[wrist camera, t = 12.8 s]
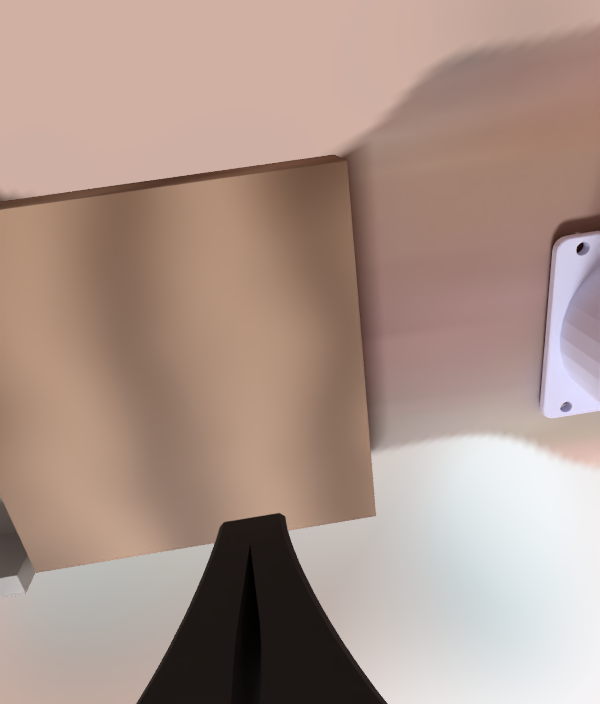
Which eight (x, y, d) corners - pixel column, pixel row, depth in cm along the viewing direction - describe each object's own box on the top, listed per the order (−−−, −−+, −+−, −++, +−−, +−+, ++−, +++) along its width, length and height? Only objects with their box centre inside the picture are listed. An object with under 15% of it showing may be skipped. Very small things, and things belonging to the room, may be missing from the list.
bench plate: (333, 154, 18) (347, 160, 16) (363, 477, 24) (375, 516, 22) (-78, 212, 18) (-125, 227, 15) (56, 528, 24) (36, 572, 21)
